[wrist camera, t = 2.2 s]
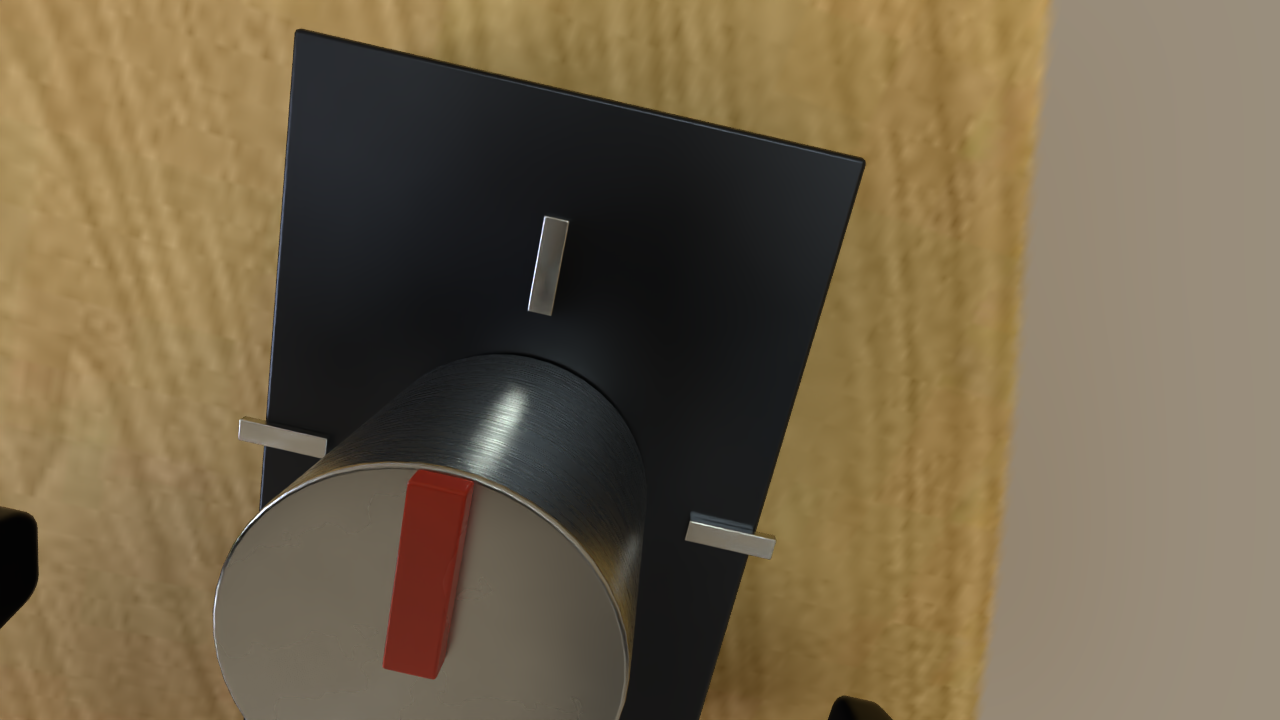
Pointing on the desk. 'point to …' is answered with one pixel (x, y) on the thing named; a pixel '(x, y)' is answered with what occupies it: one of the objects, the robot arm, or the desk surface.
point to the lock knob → (447, 560)
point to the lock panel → (558, 295)
